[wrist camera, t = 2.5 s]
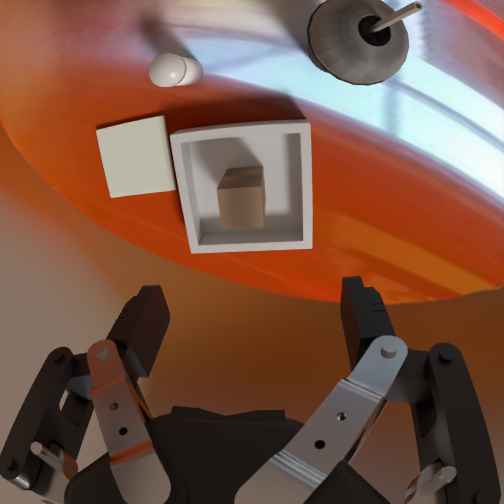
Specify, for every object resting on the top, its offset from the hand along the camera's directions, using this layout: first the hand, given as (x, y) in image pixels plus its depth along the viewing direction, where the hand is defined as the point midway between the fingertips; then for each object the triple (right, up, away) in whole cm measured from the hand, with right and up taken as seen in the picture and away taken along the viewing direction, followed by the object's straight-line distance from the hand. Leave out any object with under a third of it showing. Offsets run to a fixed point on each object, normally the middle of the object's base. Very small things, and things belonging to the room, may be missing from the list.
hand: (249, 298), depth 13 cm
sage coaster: (-14, +13, +21) cm, 28 cm away
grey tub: (0, +10, +21) cm, 24 cm away
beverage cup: (+8, +23, +13) cm, 28 cm away
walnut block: (0, +10, +21) cm, 23 cm away
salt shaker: (-7, +21, +15) cm, 27 cm away
